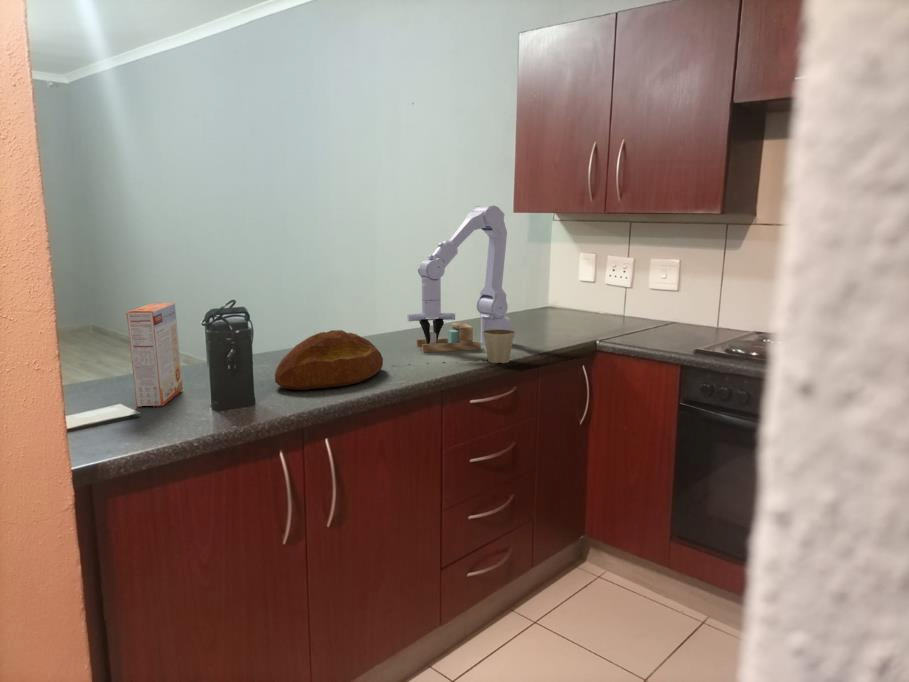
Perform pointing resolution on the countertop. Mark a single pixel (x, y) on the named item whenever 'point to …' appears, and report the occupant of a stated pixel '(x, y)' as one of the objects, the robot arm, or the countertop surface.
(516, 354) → the countertop surface
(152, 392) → the cracker box
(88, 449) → the countertop surface
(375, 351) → the bread
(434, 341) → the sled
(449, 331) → the block
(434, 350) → the wooden frame
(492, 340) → the flower pot
